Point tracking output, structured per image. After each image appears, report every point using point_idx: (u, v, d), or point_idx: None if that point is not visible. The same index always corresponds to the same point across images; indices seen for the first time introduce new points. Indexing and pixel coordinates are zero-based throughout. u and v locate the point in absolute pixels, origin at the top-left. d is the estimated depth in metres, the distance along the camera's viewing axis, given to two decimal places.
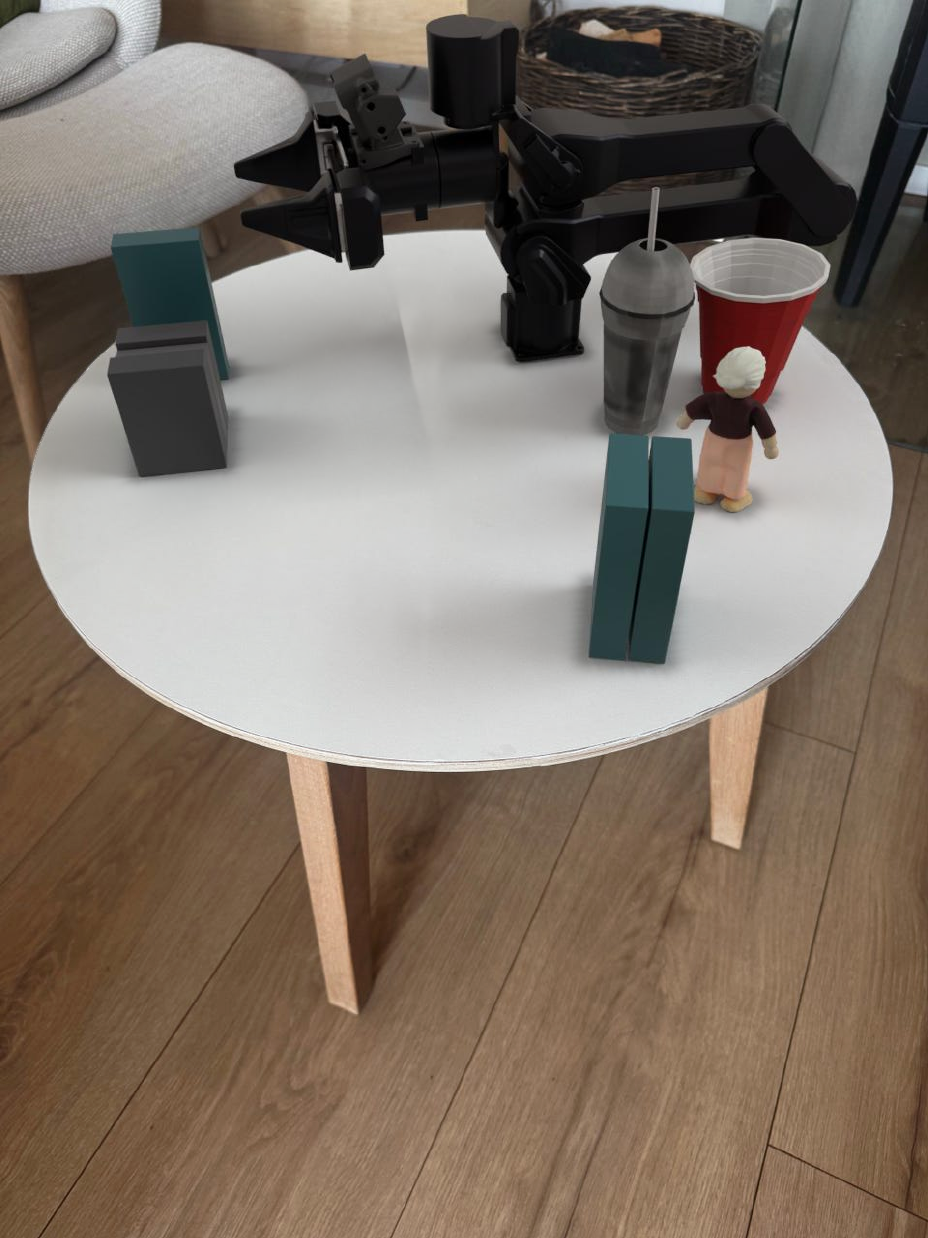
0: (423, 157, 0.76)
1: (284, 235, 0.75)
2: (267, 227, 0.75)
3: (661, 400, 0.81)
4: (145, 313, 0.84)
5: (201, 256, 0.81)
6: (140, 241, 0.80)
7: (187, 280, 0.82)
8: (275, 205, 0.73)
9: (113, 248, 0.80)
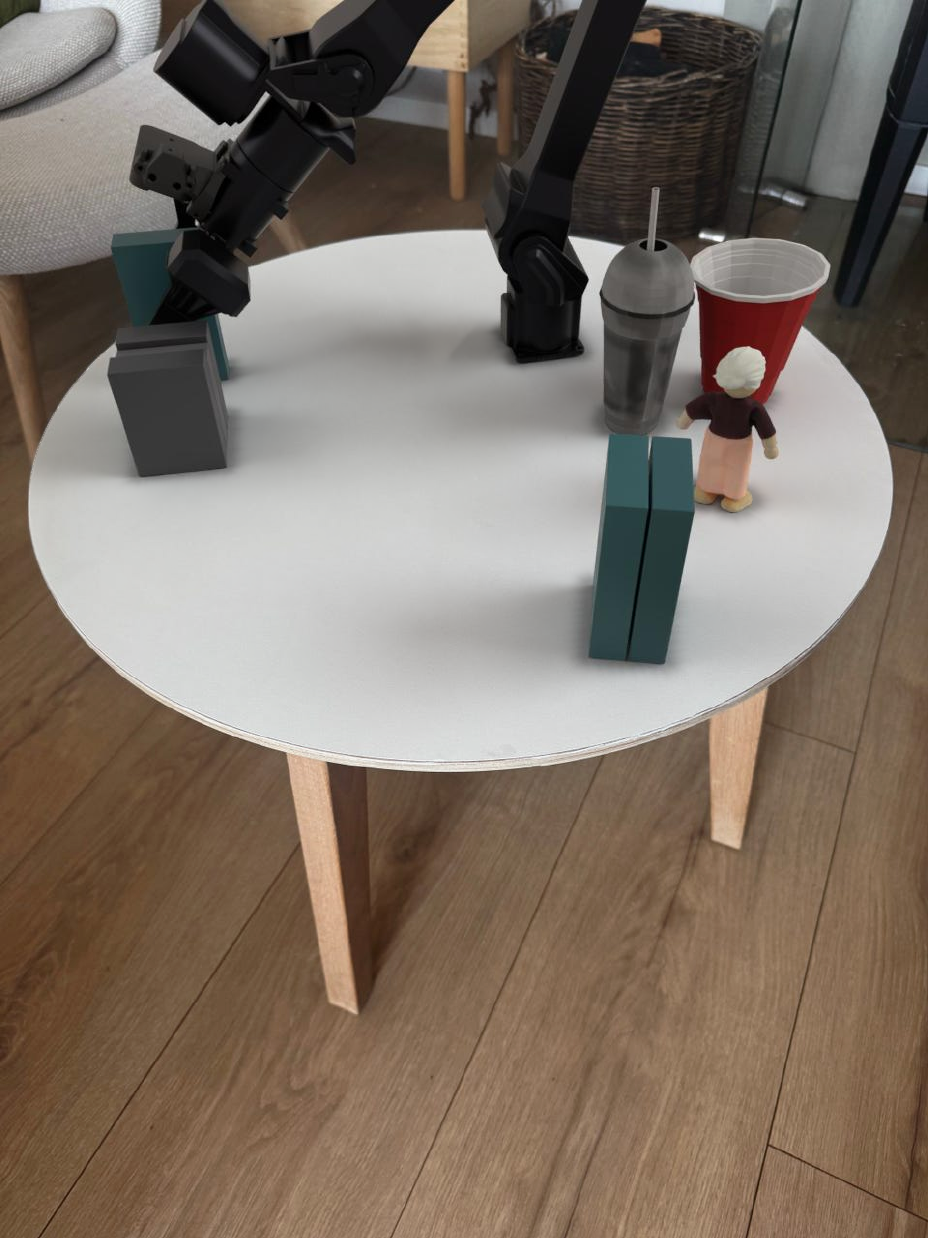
0: (236, 169, 0.75)
1: (185, 320, 0.80)
2: None
3: (661, 400, 0.81)
4: (145, 313, 0.84)
5: None
6: (140, 241, 0.80)
7: None
8: (159, 305, 0.79)
9: (113, 248, 0.80)
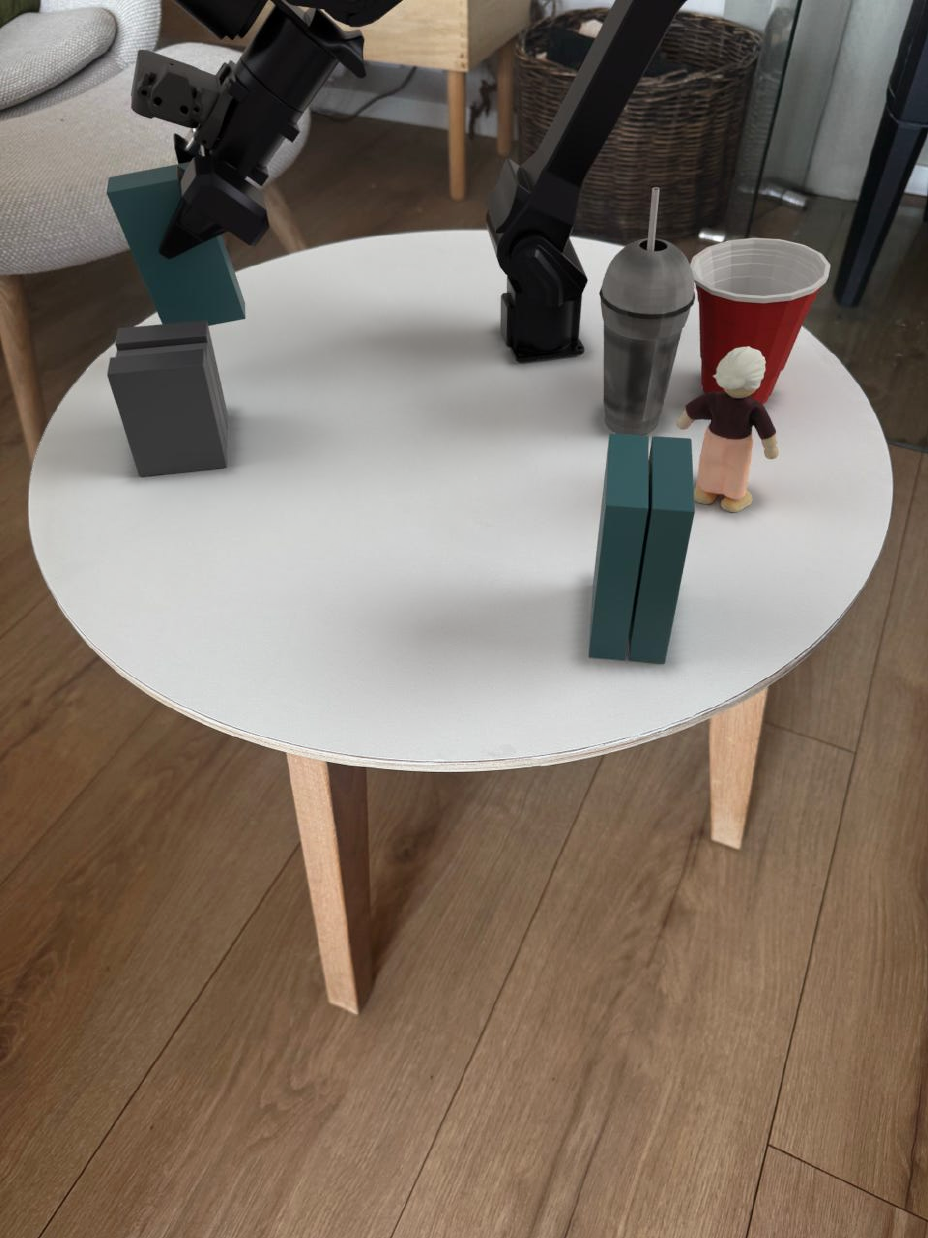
0: (243, 89, 0.72)
1: (197, 241, 0.79)
2: (182, 246, 0.79)
3: (661, 400, 0.81)
4: (151, 258, 0.80)
5: None
6: (136, 183, 0.76)
7: None
8: (170, 226, 0.78)
9: (109, 193, 0.76)
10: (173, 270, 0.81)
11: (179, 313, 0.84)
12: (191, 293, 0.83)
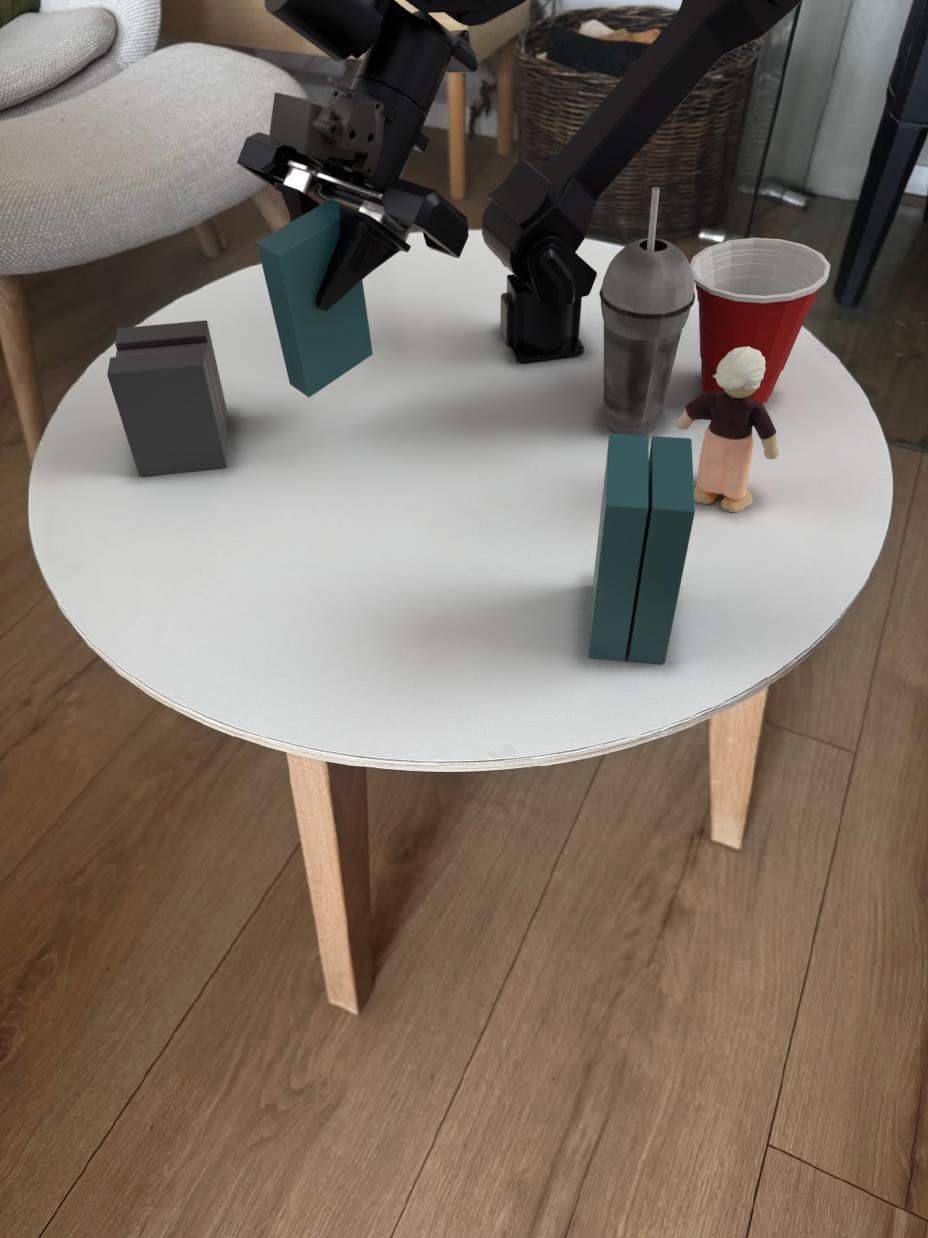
0: (393, 106, 0.69)
1: (356, 281, 0.74)
2: (342, 291, 0.74)
3: (661, 400, 0.81)
4: (306, 316, 0.74)
5: None
6: (300, 237, 0.69)
7: None
8: (335, 273, 0.72)
9: (280, 255, 0.69)
10: (322, 323, 0.75)
11: (322, 369, 0.78)
12: (334, 343, 0.78)
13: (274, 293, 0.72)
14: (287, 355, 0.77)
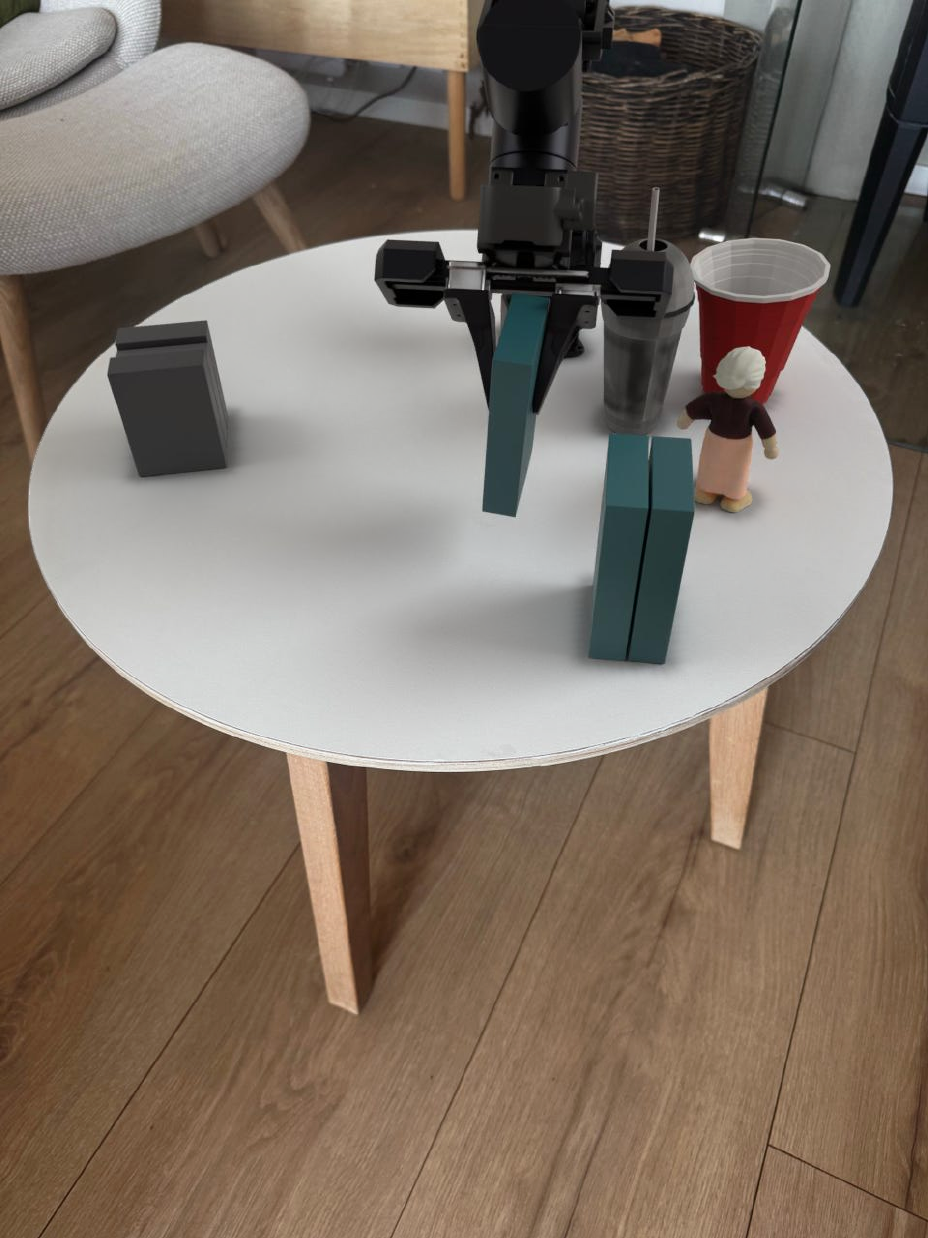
0: None
1: (555, 373, 0.66)
2: (549, 388, 0.65)
3: (661, 400, 0.81)
4: (527, 427, 0.64)
5: (547, 317, 0.64)
6: (531, 339, 0.60)
7: None
8: (551, 369, 0.63)
9: (532, 365, 0.59)
10: (529, 429, 0.66)
11: (521, 482, 0.69)
12: (527, 449, 0.68)
13: (502, 412, 0.62)
14: (494, 478, 0.66)
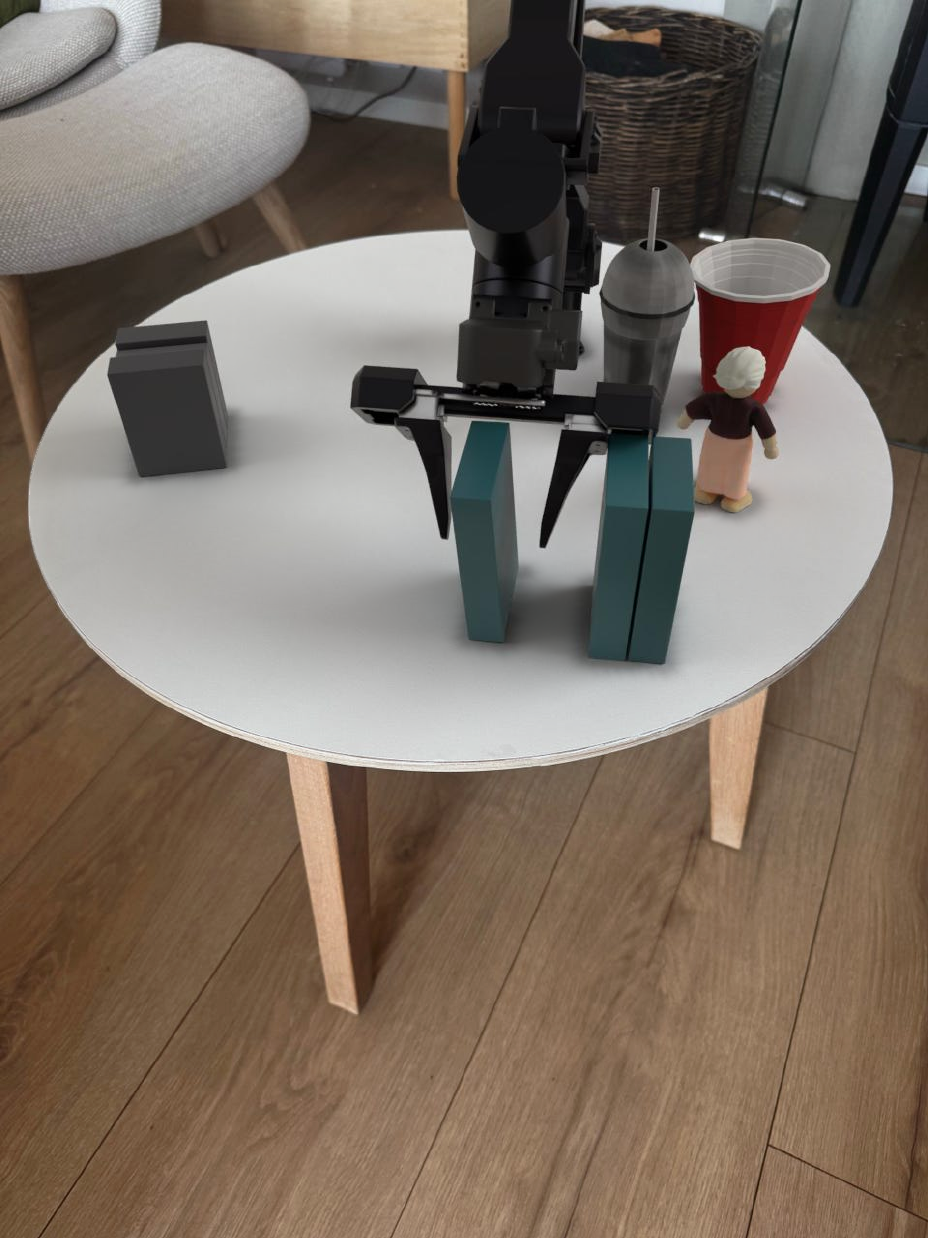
0: None
1: None
2: None
3: (661, 400, 0.81)
4: (500, 555, 0.62)
5: (510, 440, 0.62)
6: (489, 471, 0.58)
7: (508, 480, 0.62)
8: (559, 504, 0.61)
9: (490, 499, 0.57)
10: (504, 555, 0.64)
11: (505, 606, 0.66)
12: (508, 571, 0.66)
13: (469, 545, 0.60)
14: (474, 608, 0.64)
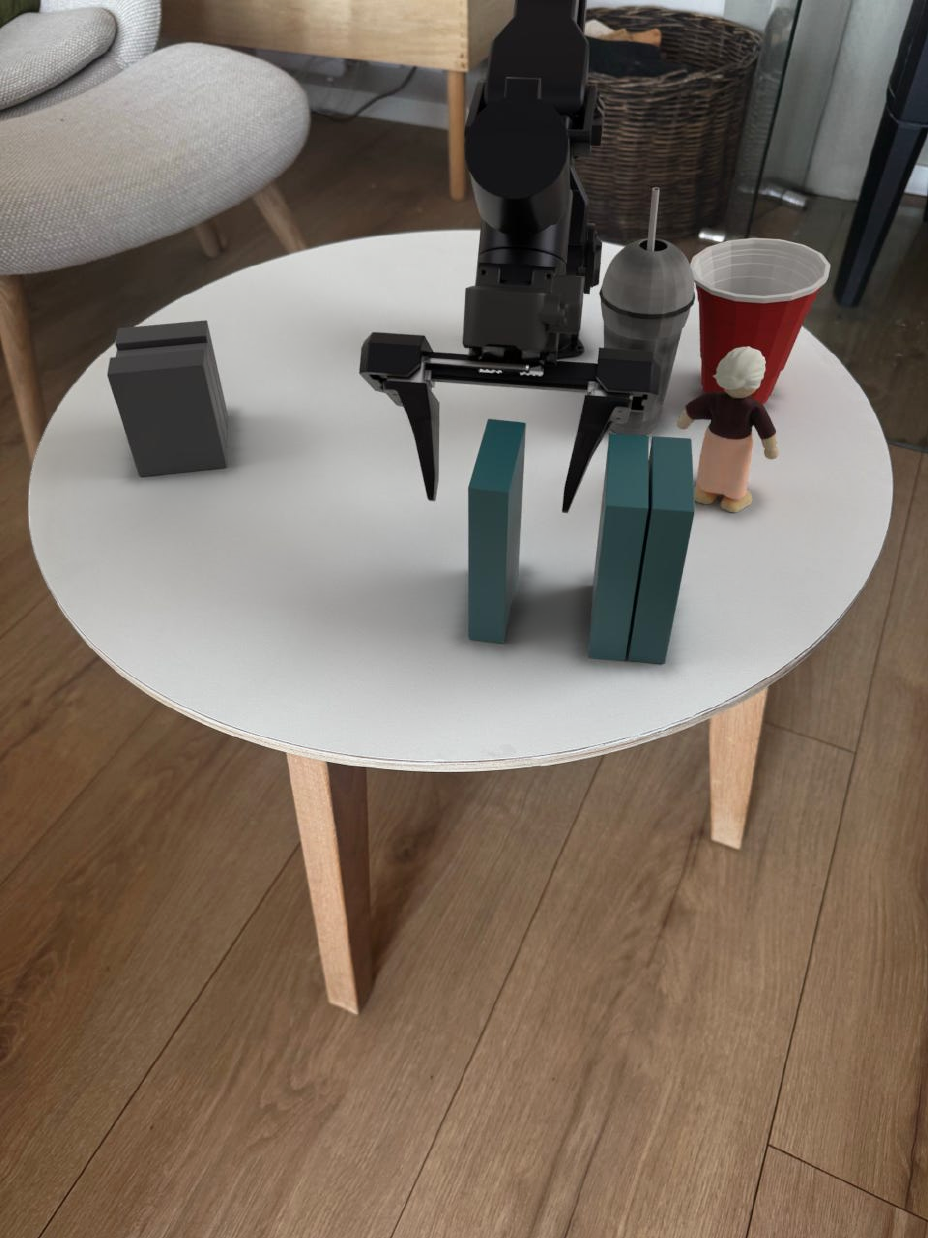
0: (556, 272, 0.61)
1: (586, 469, 0.65)
2: (579, 485, 0.64)
3: (661, 400, 0.81)
4: (509, 552, 0.62)
5: (524, 441, 0.63)
6: (507, 466, 0.59)
7: (520, 480, 0.63)
8: (582, 469, 0.62)
9: (508, 491, 0.57)
10: (511, 554, 0.64)
11: (508, 607, 0.66)
12: (512, 573, 0.66)
13: (481, 539, 0.60)
14: (478, 606, 0.64)
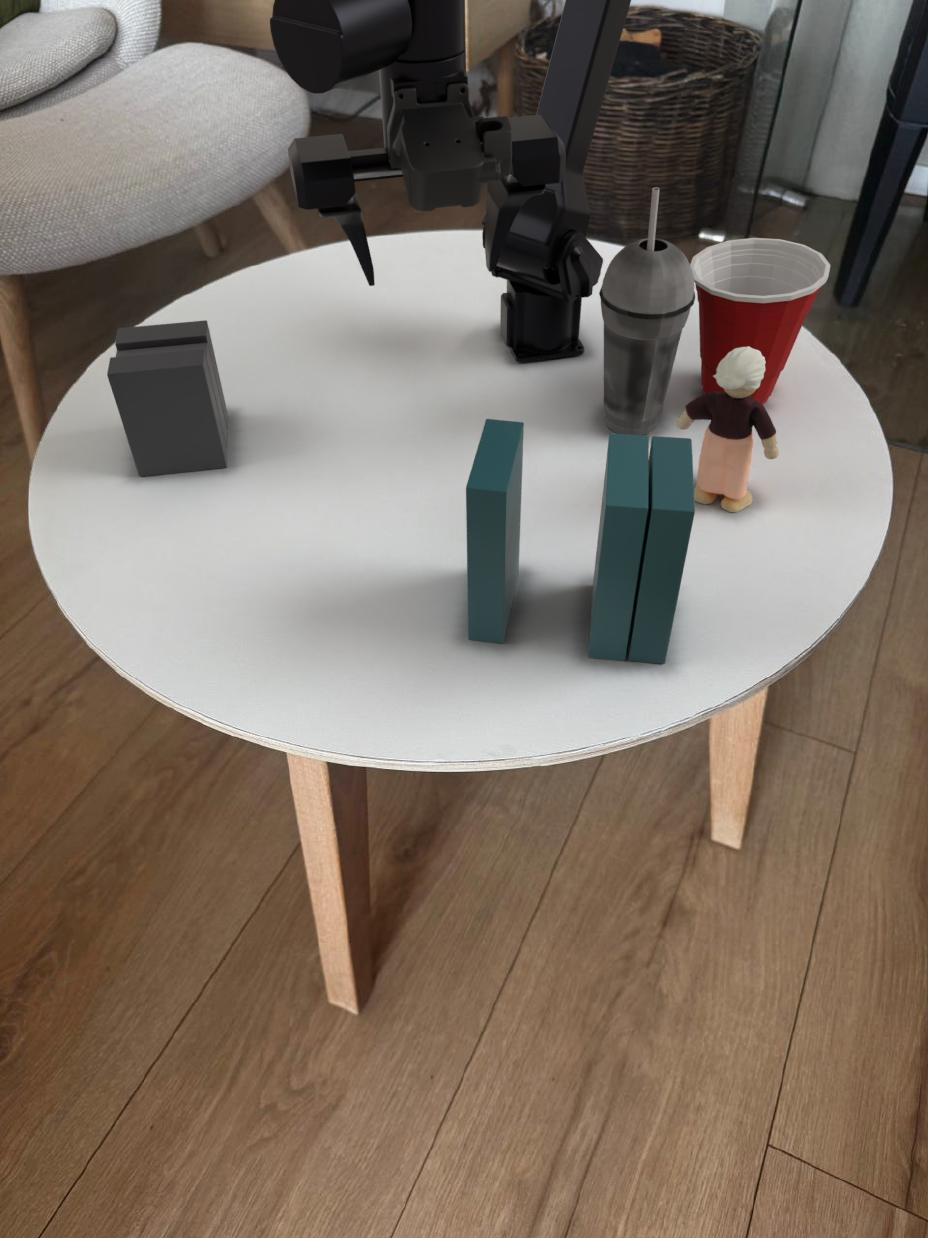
0: None
1: None
2: None
3: (661, 400, 0.81)
4: (508, 552, 0.62)
5: (522, 441, 0.63)
6: (505, 466, 0.59)
7: (518, 480, 0.63)
8: (504, 239, 0.73)
9: (506, 491, 0.57)
10: (510, 554, 0.64)
11: (507, 607, 0.66)
12: (512, 573, 0.66)
13: (480, 539, 0.60)
14: (477, 606, 0.64)
